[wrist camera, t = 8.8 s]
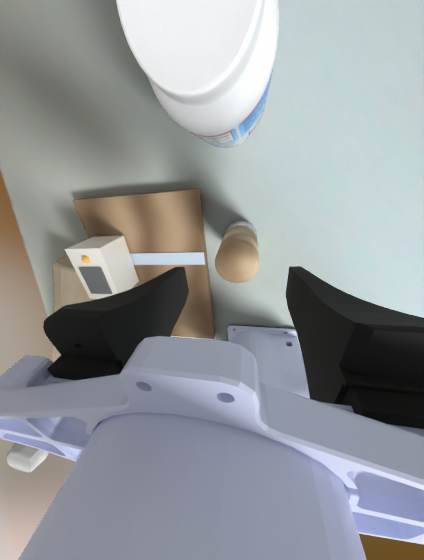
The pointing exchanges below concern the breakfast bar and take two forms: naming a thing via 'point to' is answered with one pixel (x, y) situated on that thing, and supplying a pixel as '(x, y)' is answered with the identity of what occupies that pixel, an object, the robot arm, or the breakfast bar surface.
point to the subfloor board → (160, 244)
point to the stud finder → (103, 265)
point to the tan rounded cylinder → (238, 253)
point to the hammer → (65, 293)
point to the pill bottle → (206, 61)
